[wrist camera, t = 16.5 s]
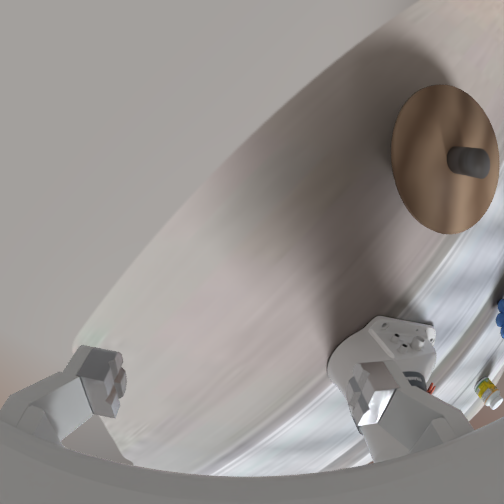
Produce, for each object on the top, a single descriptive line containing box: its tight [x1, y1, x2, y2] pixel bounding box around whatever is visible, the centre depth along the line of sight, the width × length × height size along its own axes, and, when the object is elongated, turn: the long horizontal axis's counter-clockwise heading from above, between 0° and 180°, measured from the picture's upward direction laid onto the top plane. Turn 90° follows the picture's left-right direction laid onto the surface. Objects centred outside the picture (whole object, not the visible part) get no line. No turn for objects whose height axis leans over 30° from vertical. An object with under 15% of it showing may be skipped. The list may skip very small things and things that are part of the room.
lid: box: [391, 85, 499, 234], centre depth 28 cm, size 20×20×6 cm
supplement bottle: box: [474, 377, 503, 410], centre depth 53 cm, size 5×5×10 cm
